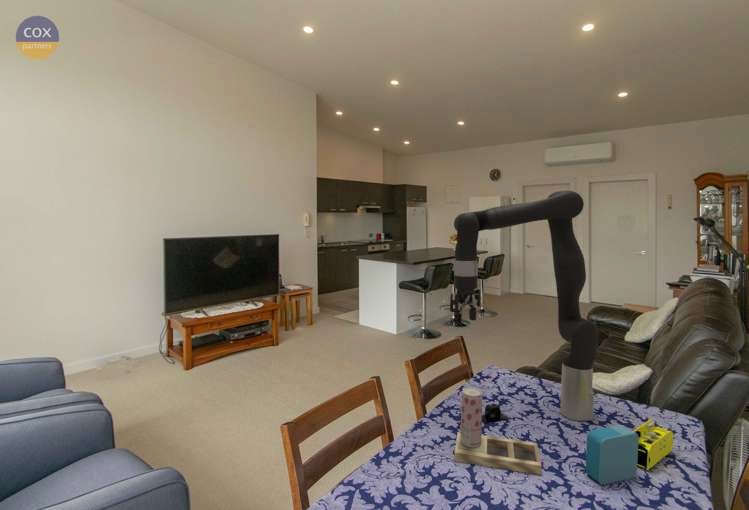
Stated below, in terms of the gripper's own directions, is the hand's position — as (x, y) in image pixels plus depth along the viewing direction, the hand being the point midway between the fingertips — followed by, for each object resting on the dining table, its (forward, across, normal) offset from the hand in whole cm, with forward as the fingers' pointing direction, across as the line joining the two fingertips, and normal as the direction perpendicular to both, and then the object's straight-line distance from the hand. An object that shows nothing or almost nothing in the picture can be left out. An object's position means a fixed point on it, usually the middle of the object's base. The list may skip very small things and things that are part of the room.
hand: (465, 322), depth 131 cm
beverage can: (+29, -18, -14) cm, 37 cm away
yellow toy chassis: (+33, +16, -49) cm, 61 cm away
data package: (+32, -1, -44) cm, 55 cm away
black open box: (+33, +5, -8) cm, 34 cm away
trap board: (+32, -14, -20) cm, 40 cm away
